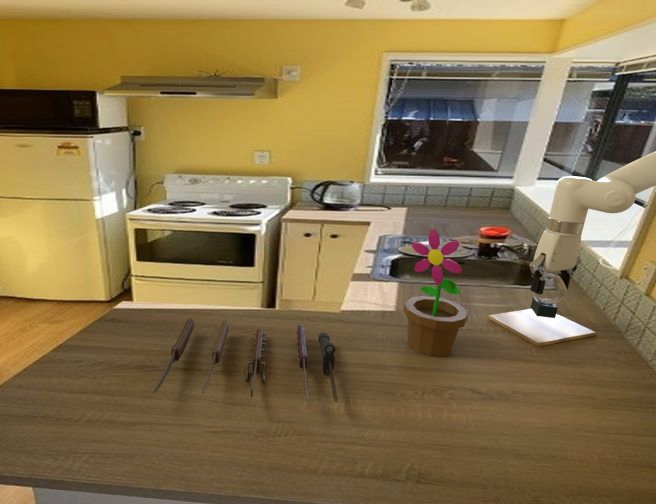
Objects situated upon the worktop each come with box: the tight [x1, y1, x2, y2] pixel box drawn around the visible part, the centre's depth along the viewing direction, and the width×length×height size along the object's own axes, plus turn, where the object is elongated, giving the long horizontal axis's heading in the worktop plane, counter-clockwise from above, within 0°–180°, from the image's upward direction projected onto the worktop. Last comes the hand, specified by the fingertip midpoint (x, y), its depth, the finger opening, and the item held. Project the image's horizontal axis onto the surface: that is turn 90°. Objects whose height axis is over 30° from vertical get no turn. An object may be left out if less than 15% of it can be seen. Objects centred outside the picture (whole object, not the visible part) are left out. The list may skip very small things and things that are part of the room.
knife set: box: [151, 317, 339, 404], centre depth 90 cm, size 35×33×8 cm
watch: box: [530, 272, 568, 318], centre depth 112 cm, size 6×8×11 cm
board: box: [487, 308, 597, 347], centre depth 115 cm, size 20×16×1 cm
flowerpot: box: [403, 228, 469, 358], centre depth 100 cm, size 14×14×30 cm
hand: (548, 290), depth 112 cm, fingers closed on watch, 8 cm apart
